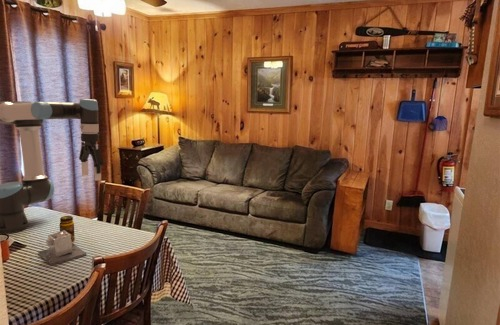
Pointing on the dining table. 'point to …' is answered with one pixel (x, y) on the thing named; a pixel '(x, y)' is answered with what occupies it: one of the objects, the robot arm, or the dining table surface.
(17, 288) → the dining table surface
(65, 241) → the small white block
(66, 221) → the condiment
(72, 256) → the plate
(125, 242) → the dining table surface
